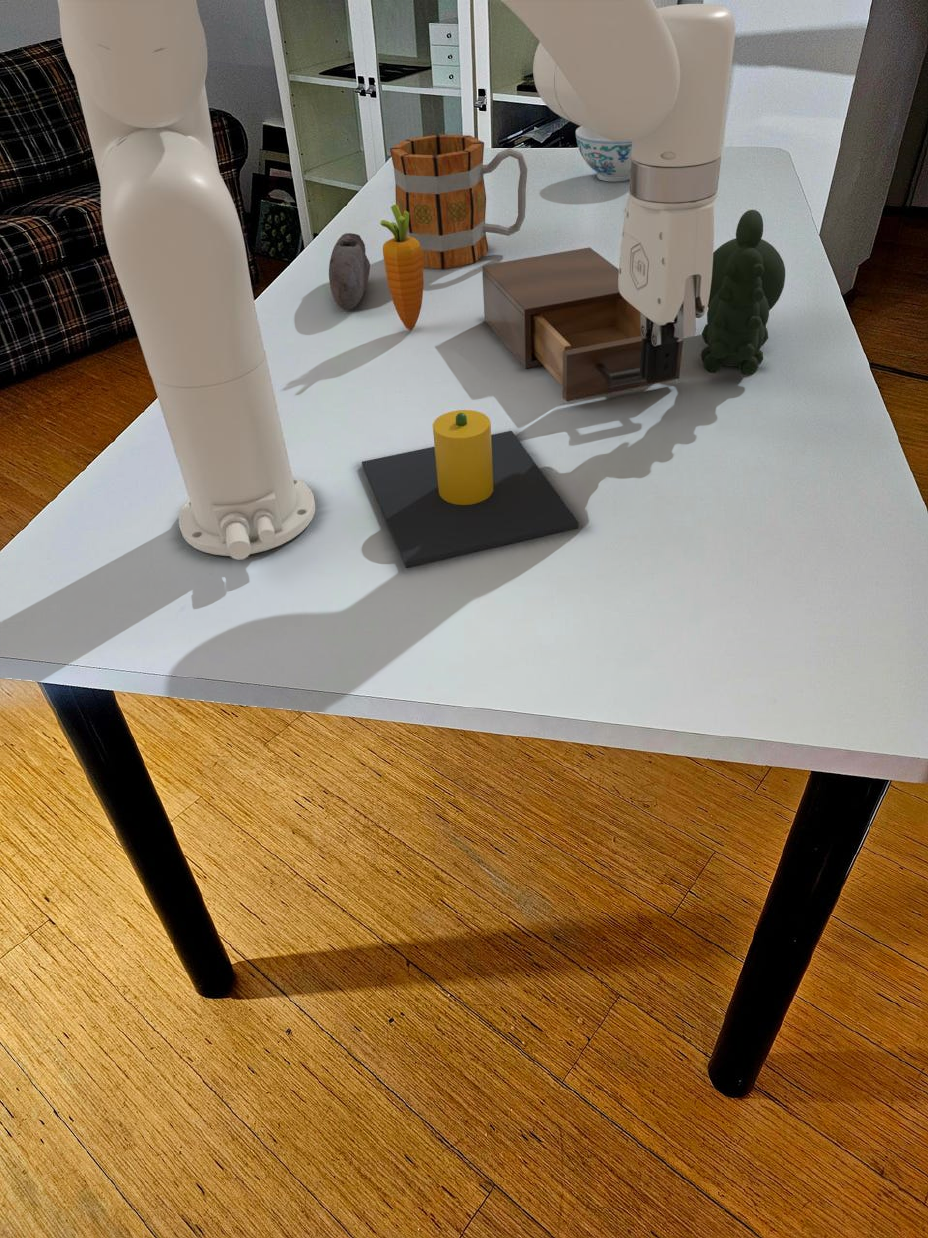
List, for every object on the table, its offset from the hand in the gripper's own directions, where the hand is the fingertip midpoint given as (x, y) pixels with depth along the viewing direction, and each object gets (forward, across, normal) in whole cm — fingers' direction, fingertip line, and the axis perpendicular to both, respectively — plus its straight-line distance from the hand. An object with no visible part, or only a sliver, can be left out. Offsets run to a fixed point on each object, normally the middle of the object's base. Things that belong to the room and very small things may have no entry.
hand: (657, 376), depth 88 cm
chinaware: (+6, -86, +34) cm, 93 cm away
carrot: (+6, -35, -17) cm, 39 cm away
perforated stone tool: (+6, -49, -22) cm, 54 cm away
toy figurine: (+6, -13, +16) cm, 22 cm away
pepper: (+5, +5, -22) cm, 23 cm away
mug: (+6, -60, -2) cm, 60 cm away
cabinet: (+6, -26, 0) cm, 27 cm away
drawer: (+5, -12, 0) cm, 13 cm away
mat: (+5, +5, -22) cm, 23 cm away
